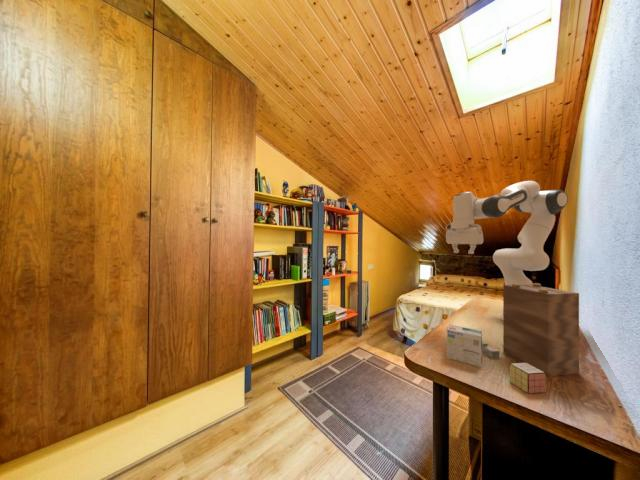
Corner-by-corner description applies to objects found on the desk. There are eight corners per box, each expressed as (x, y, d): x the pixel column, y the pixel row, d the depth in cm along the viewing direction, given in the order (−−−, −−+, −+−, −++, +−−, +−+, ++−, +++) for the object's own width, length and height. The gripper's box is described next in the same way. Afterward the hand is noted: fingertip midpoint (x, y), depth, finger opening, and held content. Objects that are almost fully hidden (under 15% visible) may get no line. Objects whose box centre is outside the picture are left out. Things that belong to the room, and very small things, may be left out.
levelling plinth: (530, 351, 89) (530, 281, 89) (579, 373, 74) (578, 290, 74) (503, 353, 87) (503, 282, 88) (547, 376, 73) (547, 291, 73)
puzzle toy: (525, 380, 70) (525, 362, 70) (546, 392, 65) (546, 372, 65) (509, 381, 70) (509, 363, 70) (528, 394, 64) (528, 373, 64)
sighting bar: (452, 333, 108) (452, 325, 108) (499, 359, 84) (499, 348, 84) (446, 333, 107) (446, 325, 107) (492, 359, 83) (492, 349, 83)
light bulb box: (482, 359, 83) (482, 329, 83) (481, 368, 77) (482, 336, 77) (448, 351, 89) (448, 323, 89) (446, 358, 84) (446, 328, 84)
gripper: (487, 223, 103) (487, 254, 103) (454, 226, 123) (454, 252, 123) (474, 223, 102) (474, 254, 102) (443, 226, 122) (443, 252, 122)
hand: (463, 253), depth 112 cm, fingers open, 8 cm apart
